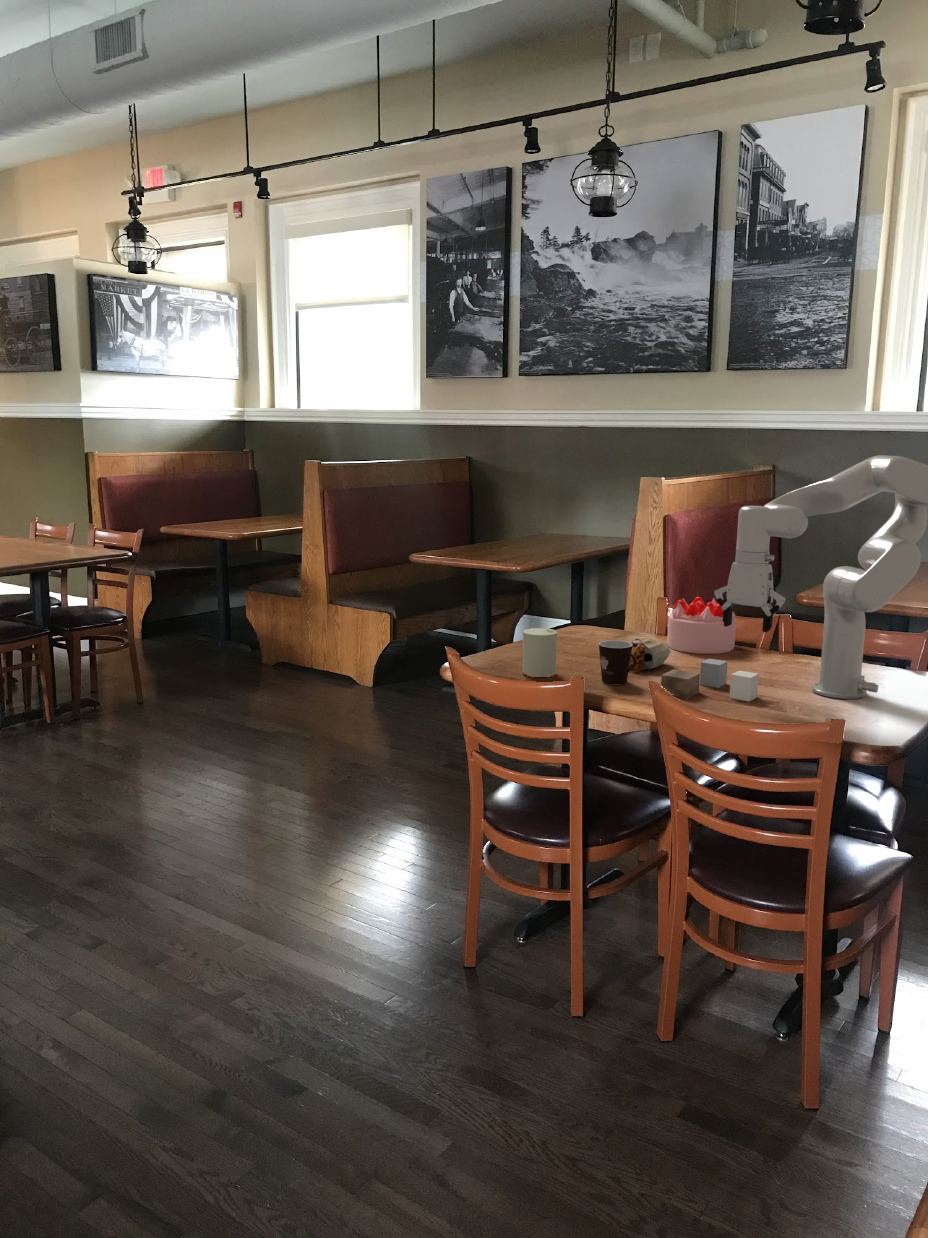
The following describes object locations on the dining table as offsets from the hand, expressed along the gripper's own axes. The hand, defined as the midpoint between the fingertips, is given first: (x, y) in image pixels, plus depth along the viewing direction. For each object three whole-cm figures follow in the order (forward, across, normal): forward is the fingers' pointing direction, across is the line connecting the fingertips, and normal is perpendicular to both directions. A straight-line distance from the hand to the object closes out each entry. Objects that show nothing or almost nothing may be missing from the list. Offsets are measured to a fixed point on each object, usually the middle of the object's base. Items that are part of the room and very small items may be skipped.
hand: (746, 628), depth 234 cm
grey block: (+17, +11, -7) cm, 22 cm away
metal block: (+18, +14, +6) cm, 23 cm away
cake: (+17, +31, -45) cm, 58 cm away
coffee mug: (+18, +31, +8) cm, 36 cm away
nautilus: (+18, +34, -11) cm, 40 cm away
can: (+18, +52, +12) cm, 56 cm away
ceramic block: (+17, 0, 0) cm, 17 cm away
